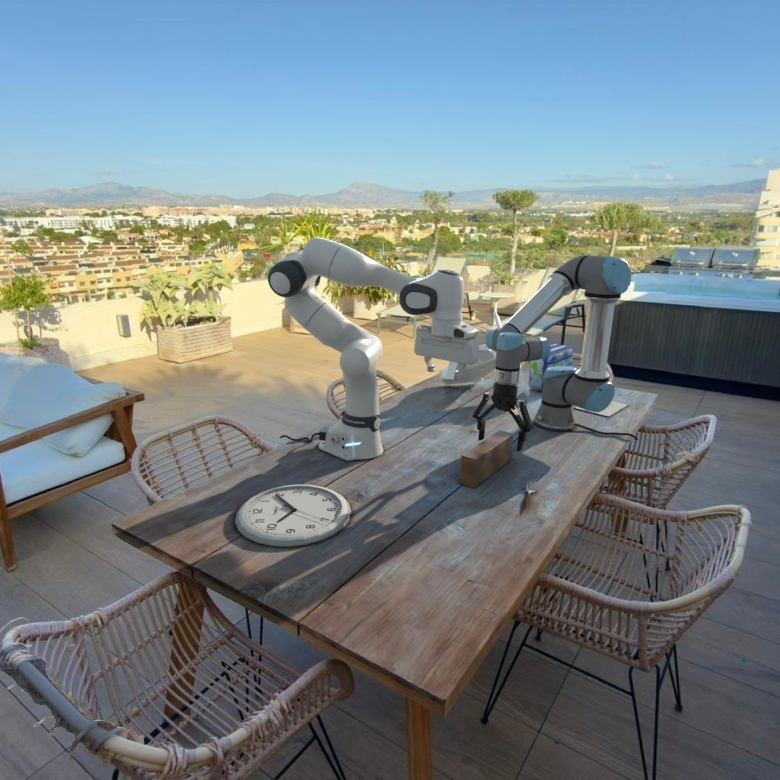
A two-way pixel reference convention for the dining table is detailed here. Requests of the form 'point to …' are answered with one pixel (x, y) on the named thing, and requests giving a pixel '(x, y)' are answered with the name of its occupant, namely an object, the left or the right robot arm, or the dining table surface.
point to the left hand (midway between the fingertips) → (444, 374)
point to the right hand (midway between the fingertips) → (499, 444)
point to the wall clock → (293, 515)
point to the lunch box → (549, 364)
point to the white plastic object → (478, 367)
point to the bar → (486, 458)
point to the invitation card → (608, 408)
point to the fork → (529, 490)
